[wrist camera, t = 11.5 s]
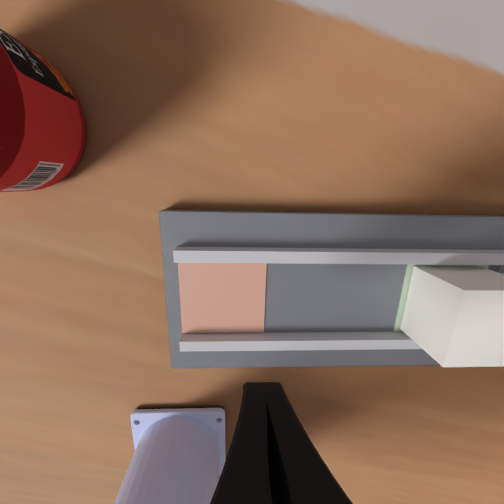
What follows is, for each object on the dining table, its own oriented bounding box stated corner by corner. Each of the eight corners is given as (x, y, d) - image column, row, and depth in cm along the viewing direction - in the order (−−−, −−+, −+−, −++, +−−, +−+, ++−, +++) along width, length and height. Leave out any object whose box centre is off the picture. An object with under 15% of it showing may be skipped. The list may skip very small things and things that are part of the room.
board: (478, 354, 21) (513, 379, 18) (175, 357, 20) (165, 385, 17) (523, 215, 18) (574, 221, 15) (164, 209, 16) (149, 214, 14)
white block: (463, 328, 18) (521, 366, 15) (400, 328, 18) (442, 367, 14) (481, 266, 17) (551, 290, 13) (413, 266, 17) (464, 290, 13)
